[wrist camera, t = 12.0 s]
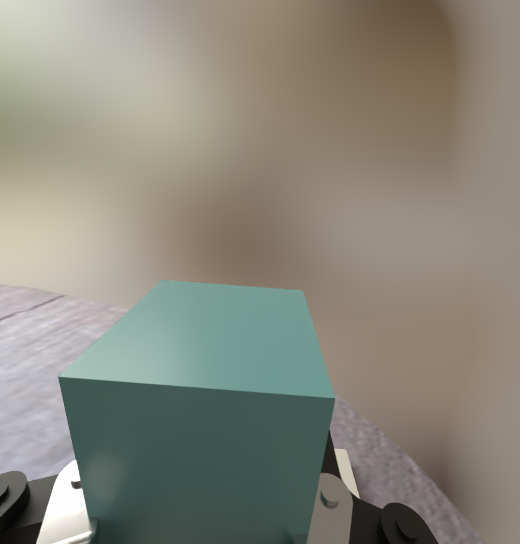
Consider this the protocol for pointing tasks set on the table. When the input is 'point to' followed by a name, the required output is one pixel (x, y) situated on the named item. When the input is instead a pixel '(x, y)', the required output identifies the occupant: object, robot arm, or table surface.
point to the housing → (202, 417)
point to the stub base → (346, 470)
